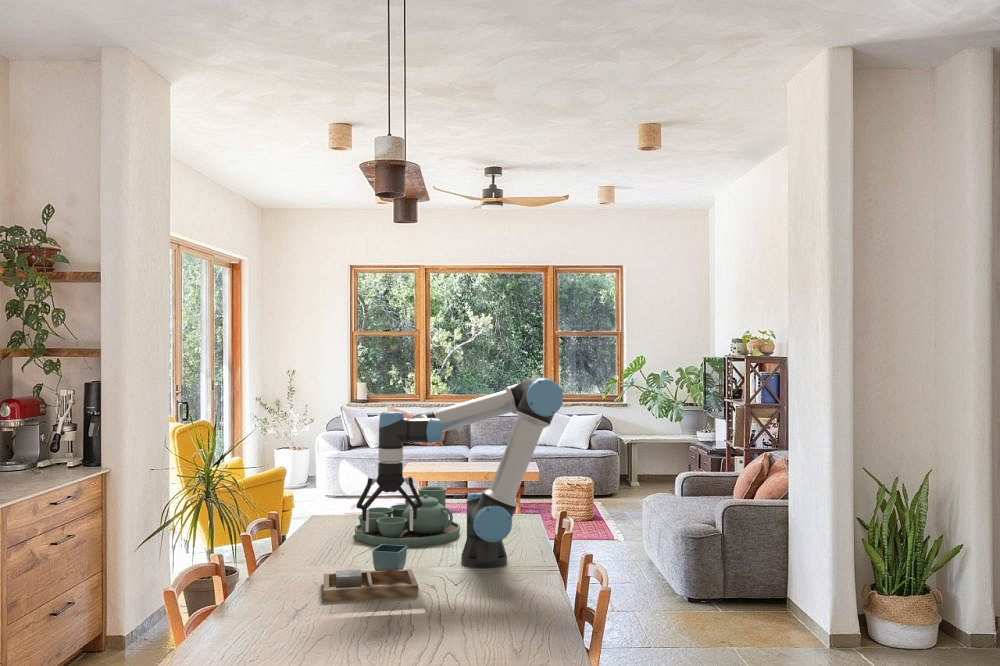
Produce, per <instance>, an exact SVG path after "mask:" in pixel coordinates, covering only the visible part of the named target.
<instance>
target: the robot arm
mask: <svg viewBox="0 0 1000 666" xmlns="http://www.w3.org/2000/svg"><path fill="white" fill-rule="evenodd" d="M563 403H564V393H563V390H562V388H561V387H560V385H559V384H558V383H557V382H556V381H554V380H552V379H551V378H547V377H539V376H533V377H530V378H527V379H524V380H523V381H521V382H517V383H514V384H512V385H509V386H506V388H505V389H504V390H501V391H498V392H495V393H492V394H488V395H484V396H481V397H478V398H475V399H470V400H467V401H463V402H460V403H457V404H453V405H450V406H446V407H443V408H440V409H439V408H438V409H436V410H433V411H428V412H426V413H418V414H415V415H413V417H411V418H409V417H408V418H407V417H405V415H404V412H403V411H382V412H381V413H380V414H379V421H378V455H377V456H378V457H377V458H378V461H379V463H378V466H377V467H378V468H377V477H376V478H375V477H371V476H368V478H367V482H366V486H365V487H364V489H363V491H362V493H361V495H360V496H359V498H358V501H357V503H356V508H357V509H360V510H361V512H362V513H361V514H362V520H363V521H366V532H369V509H368V508H370V506H371V505H372V504H373V502H374V501H375V500H376V499H377V498H378V497H379V495H380V494H382V492H384V493H396V492H399V493H400V494H401V495H402V496H403V498H404V499H405V500H407V501H408V503H409V504H410V505H411V506H412V508H410V531H413V519H416V518H417V508H419V507H422V506H423V504H422V502H421V500H420V498H419V493H418V491H417V490H416V487H415V486H414V480H413V477H412V476H408V477H404V476H403V471H404V470H403V469H404V468H403V465H404V464H403V462H402V461H403V459H404V443H428V444H432V443H439V442H441V441H442V438H443V437H442V436H443V433H444V432H447V431H452V430H454V429H458V428H461V427H465V426H468V425H473V424H475V423H479V422H482V421H485V420H489V419H492V418H493V419H494V418H496V417H500V416H503V415H506V414H510V413H511V414H513V415H517V418H518V419H517V421H516V424H515V426H514V428H513V430H512V433H511V435H510V438H509V440H508V442H507V444H506V447H505V450H504V453H503V455H502V457H501V460H500V462H499V465H498V467H497V470H496V471H495V474H494V477H493V478H492V482H491V484H490V486H489V488H487V489H485V490H483V491H482V492H470V493H468V494H467V498H466V503H465V504H466V541H465V544H464V547H463V549H462V553H461V559H460V560H461V561H460V563H461V564H462V565H464V566H465V567H466V566H467V567H470V568H477V569H478V568H479V569H481V568H482V569H489V568H491V569H492V568H498V567H502V566H504V565H507V563H508V555H507V551H506V549H505V546H504V542H503V540H504V539H506V538H507V537H508V536H509V534H510V533H511V530H512V527H513V517H514V514H515V511H516V509H517V507H518V504H517V502H516V496H517V493H518V491H519V490H520V487H521V484H522V482H523V480H524V477H525V474H526V472H527V470H528V467H529V464H530V461H531V460H532V457H533V455H534V452H535V450H536V448H537V445H538V442H539V440H540V438H541V435H542V433H543V430H544V429H545V428H547V427H550V426H551V423H552V421H553V419H554V416H555V414H557V412H559V411H560V409H561V408H562V405H563ZM404 482H405V484H406V485H408V486H409V488H410V490H411V492H412V494H413V497H414V499H416V501H417V503H416V504H415V503H414V502H413V499H412V498H411V497H410V496H409V494H407V492H406V491H405V490H404V489H403V488H402V485H403V484H404ZM375 483H376V484H377V485H378V487H377V488H376V489H375V491H374V492H373V493H372V495H371V496H370V497H369V498H368V499H367V501H365V500H366V498H367V495H369V492H370V489H371V488H372V486H374V484H375ZM364 502H365V503H364ZM363 503H364V504H363Z"/></svg>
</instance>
